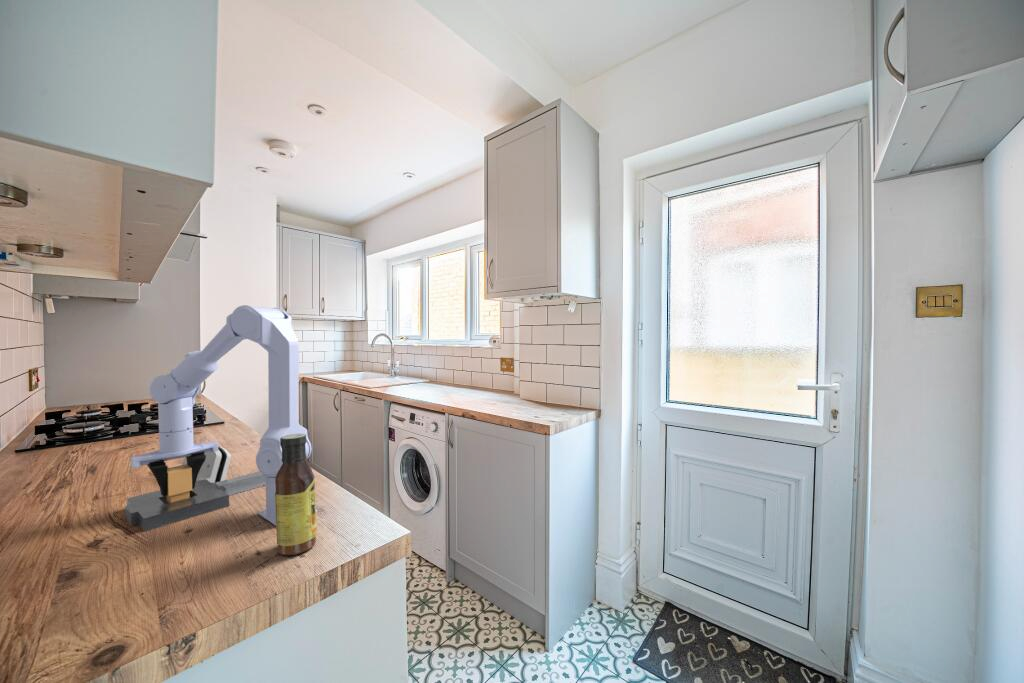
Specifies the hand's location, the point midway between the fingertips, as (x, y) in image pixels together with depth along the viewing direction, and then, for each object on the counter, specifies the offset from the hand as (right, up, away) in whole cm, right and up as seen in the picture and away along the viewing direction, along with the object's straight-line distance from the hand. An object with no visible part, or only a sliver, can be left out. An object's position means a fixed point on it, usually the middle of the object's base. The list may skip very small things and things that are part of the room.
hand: (178, 491), depth 87 cm
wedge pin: (0, -2, 0) cm, 2 cm away
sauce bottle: (+35, -4, -17) cm, 39 cm away
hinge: (-8, -4, +18) cm, 20 cm away
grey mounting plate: (+3, -3, +4) cm, 7 cm away
